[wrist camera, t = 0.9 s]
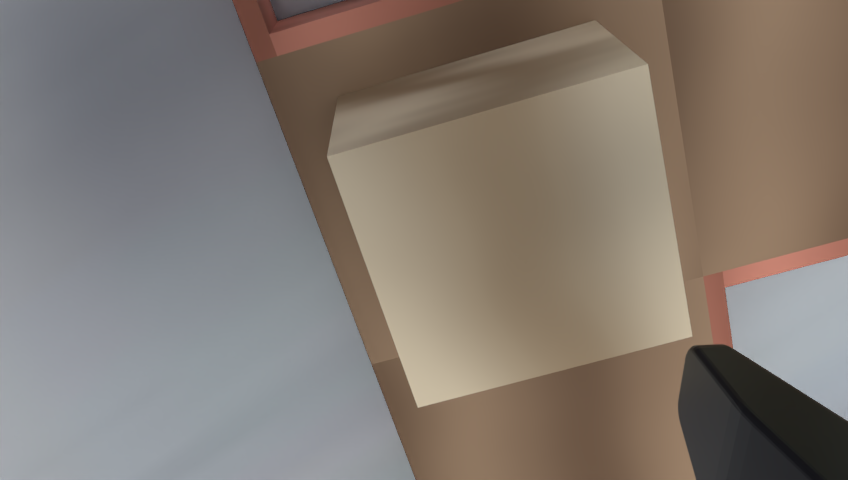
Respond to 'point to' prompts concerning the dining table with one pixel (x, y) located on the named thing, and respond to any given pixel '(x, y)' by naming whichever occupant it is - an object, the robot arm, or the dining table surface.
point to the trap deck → (687, 183)
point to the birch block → (513, 211)
